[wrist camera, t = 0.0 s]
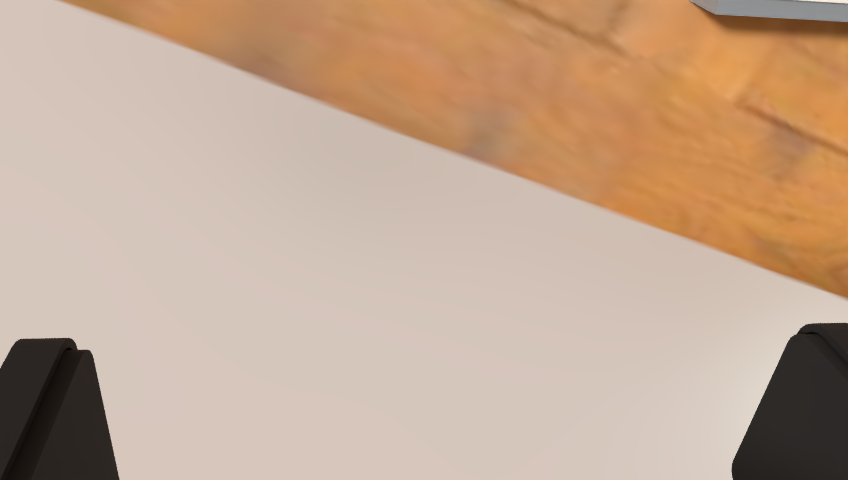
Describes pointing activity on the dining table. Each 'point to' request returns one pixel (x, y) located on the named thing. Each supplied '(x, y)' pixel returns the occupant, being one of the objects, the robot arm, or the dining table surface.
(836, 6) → the plinth
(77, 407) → the robot arm
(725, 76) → the dining table surface
